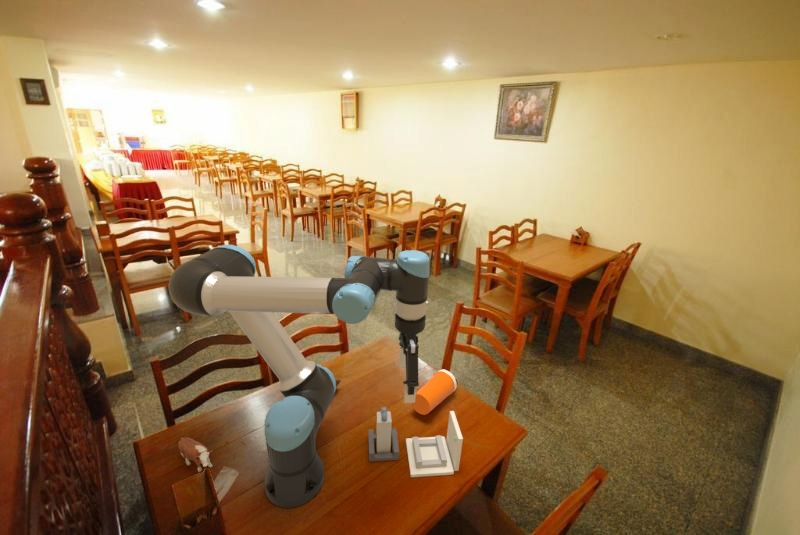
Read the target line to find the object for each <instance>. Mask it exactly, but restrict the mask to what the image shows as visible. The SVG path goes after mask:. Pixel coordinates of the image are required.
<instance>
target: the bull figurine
mask: <svg viewBox="0 0 800 535" xmlns="http://www.w3.org/2000/svg"><path fill="white" fill-rule="evenodd" d="M177 447H178V450H179V452H180V454H181V456H182V457H183V458H184V459H185V464H186V466H191V465H192V463H191V461H193V462H194V463H195V464H196V466H197V472H198V473H201V472H202V471H203V468H205V467H208V468H209V467H210V468H209V469H212V468H213V466H214V464H213V463H212V462H211V461H210V455H211V454H213V453H214V449H212V450H210V451H209V448H208V447H207V446H205V445H204V444H203V443H201V442H199V441H198V440H197V441H196V440H195V439H193V438H191V437H188V436H187V437H186V436H185V437H180V438H179V441H178V443H177ZM201 464H202V466H201ZM202 467H203V468H202Z"/></svg>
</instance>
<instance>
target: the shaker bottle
mask: <svg viewBox="0 0 800 535" xmlns="http://www.w3.org/2000/svg"><path fill="white" fill-rule="evenodd" d="M455 377H456V376H455V375H454V374H453V373H452V372H451V371H449V370H447V369H445V368H444V369H443V368H442V369H439V370H438V371H436V372H435V373H434V374H433V376H432V377H430V379H429V380H428V381H426V382H425V384H424V385H422V386H421V388H420V389H418V390H417V391H416V397H415V403H411V405H412V407H413V409H414V410H415V412H417V413H418V414H420V415H424V416H425V415H428V414H429V413H431V411H433V409H435V408H436V407H437V406H438V405H439V404H441V403H442V402H443V401H444V400H445V399H447V397H449V396H450V395H452V394H453V393H454V392H455V391H456V389H457V386H458V385H459V384H458V383H459V382H458V380H457V378H455Z"/></svg>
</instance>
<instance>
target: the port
mask: <svg viewBox="0 0 800 535" xmlns="http://www.w3.org/2000/svg"><path fill="white" fill-rule="evenodd" d="M463 441H464V437H463V434H462V432H461V429H460V426H459V422H458V420H457V416H456V413H455V411H454V410H449V416H448V423H447V432H446V437H445V436H443V435H440V434H438V435H435V436H428V437H426V436H425V437H419V436H412V437H411V438H408V437H407V438H405V446H406V454H407V459H408V465H409V473H410V478H421V477H434V476H436V477H437V476H449V475H454V473H455V472H458V471H460V470H459V468H460V464H461V462H460V460H461V456H462V448H463Z"/></svg>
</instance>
